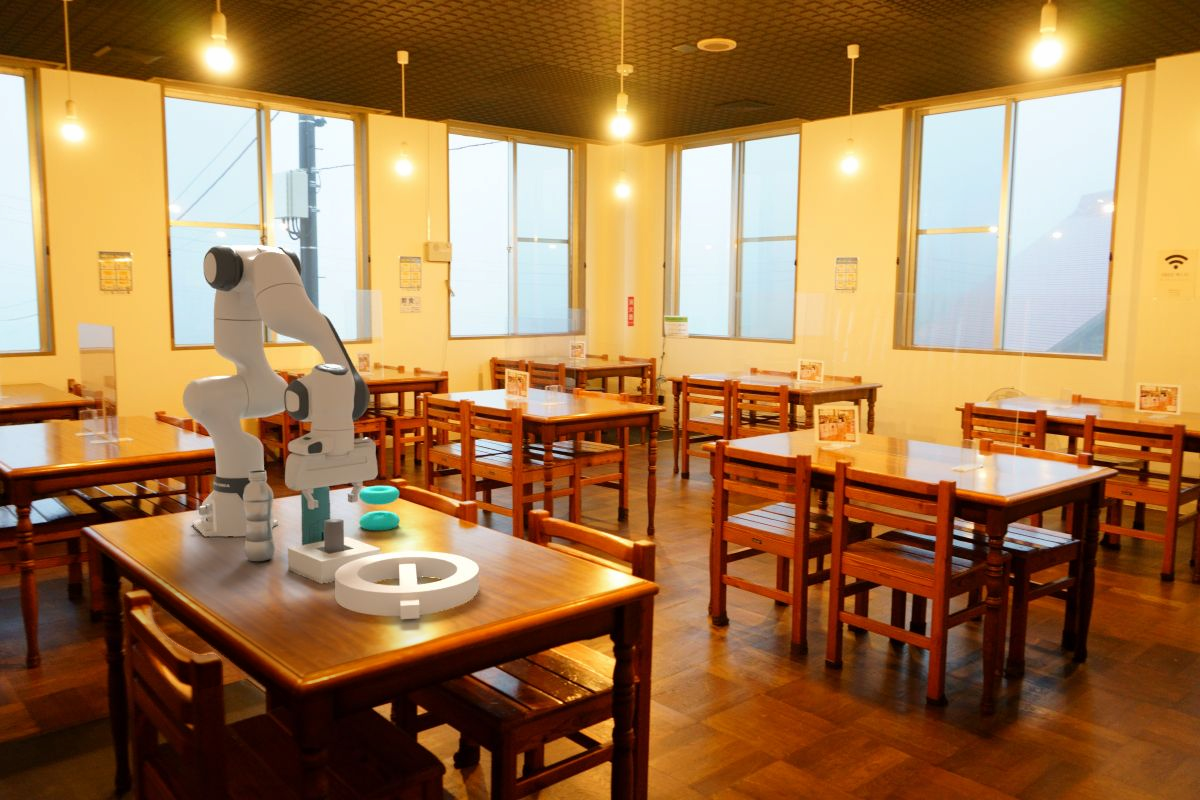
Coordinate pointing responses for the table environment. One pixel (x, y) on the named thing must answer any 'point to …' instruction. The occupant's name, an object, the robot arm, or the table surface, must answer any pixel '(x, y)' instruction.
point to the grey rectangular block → (334, 535)
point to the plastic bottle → (258, 518)
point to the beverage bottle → (315, 516)
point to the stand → (326, 558)
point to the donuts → (379, 518)
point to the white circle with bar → (406, 583)
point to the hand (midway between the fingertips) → (333, 505)
